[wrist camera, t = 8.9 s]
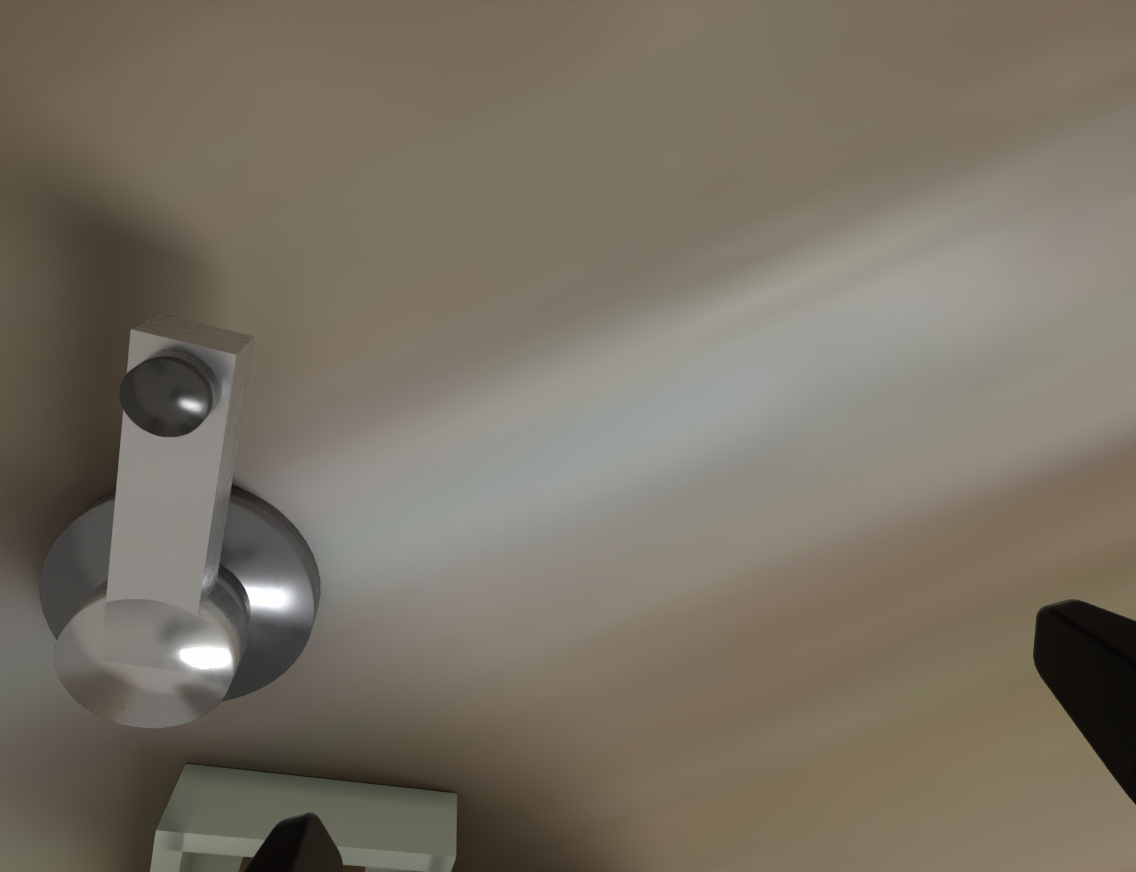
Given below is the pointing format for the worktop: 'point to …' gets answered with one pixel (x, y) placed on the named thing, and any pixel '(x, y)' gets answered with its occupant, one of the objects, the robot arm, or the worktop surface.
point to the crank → (166, 536)
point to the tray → (261, 800)
